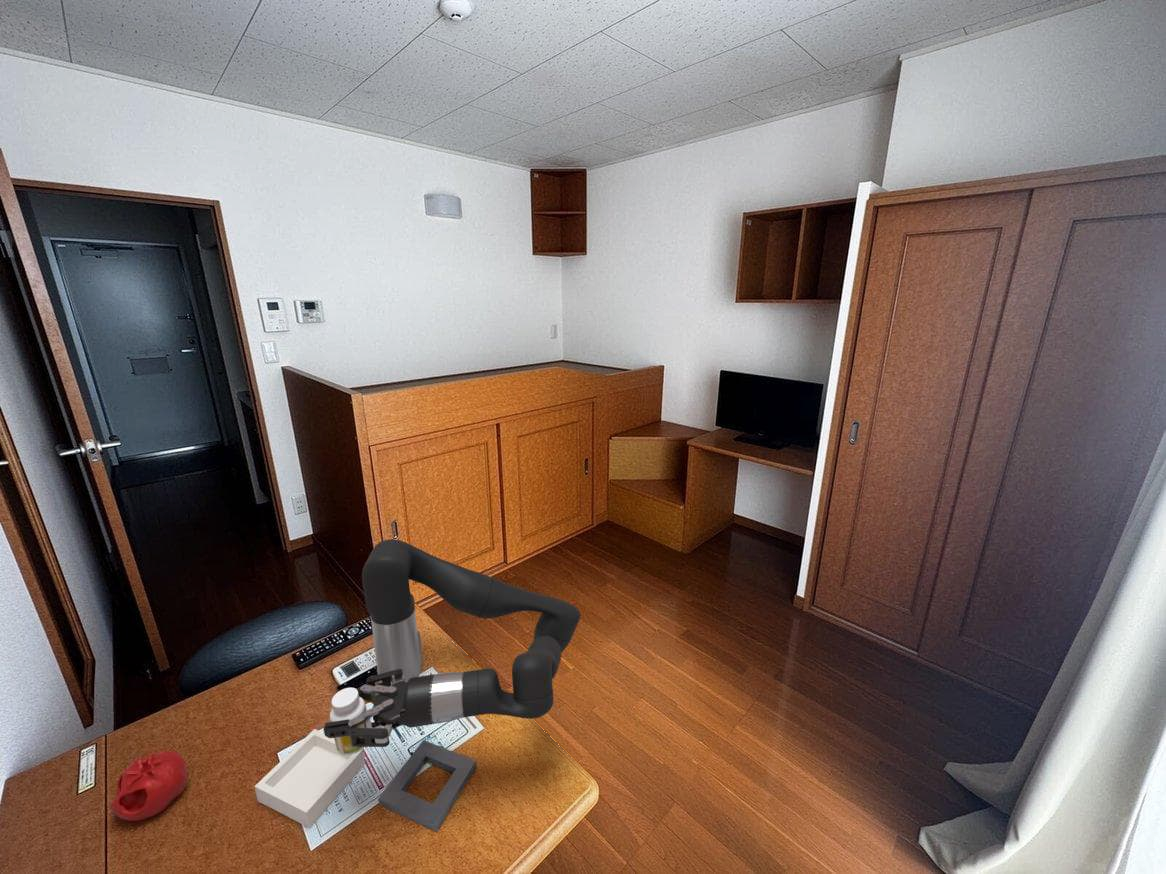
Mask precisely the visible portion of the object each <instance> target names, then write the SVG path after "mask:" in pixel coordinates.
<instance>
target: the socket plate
mask: <svg viewBox="0 0 1166 874" xmlns="http://www.w3.org/2000/svg"><path fill="white" fill-rule="evenodd" d="M426 764H431V765H432V766H435V767H437V768H440V769H442V770H445V771H448V772H450V773H452V774H451V775H450V777H449V779H448V780H447V781H446V784H445V785H444V786H443V788H442V789H441V790H440V792H439V794H438V796H437V798H435V800H434V802H433V803H432V802H430V801H427V800H425V799H422V798H420V797H418V796H417V795H416V796H415V795H413V794H411V793H409V792H406V791H407V789H408V788H409V787H410V785H411V784H412V783H413V781H414V780H415V778H416V777H417V776H418V774H419V773H420V772H421V770H422V769H423V767H424V766H425V765H426ZM476 768H477V760H476V759H473V758H471V757H467V756H465V755H462V754H460V753H457V752H455V751H452V750H450V749H448V748H445V747H442V746H440V745H438V744H435V743H432V742H429V741H428V740H425V739H423V740H422V741H421V742H420V744H418V746H417V747H416V749H415V750H414V751H413V752H412V754H411V755H410V757H409V758H408V759H407V760H406V762H405V763H404V764H403V765H402V767H401V768H400V770H399V771H398V772H397V773H396V775H395V776H394V778H393V779H392V780H391V781H390V782H389V784H388V785H387V787H386V788H385V789H384V790H383V792H382V793H380V796H379V797H378V798H377V799H378V800H377V801H378V806H381V807H383V808H385V809H387V810H389V811H391V812H394V813H395V814H398V815H400V816H402V817H404V818H406V819H409V820H410V821H413V822H415V823H416V824H419V825H421V826H423V827H425V828H427V829H430V830H432V831H434V832H438V830H439V828H440V827H441V825H442V824H443V822H444V820H445V819H446V818H447V816H448V814H449V813H450V811H451V809H452V808H453V806H454V804H455V802H456V801H457V799H458V798H459V796H460V794H461V793H462V791H463V789H465V786H466V785H467V783H468V781H469V779H470V778H471V776H472V775H473V773H474V771H475V769H476Z"/></svg>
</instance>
